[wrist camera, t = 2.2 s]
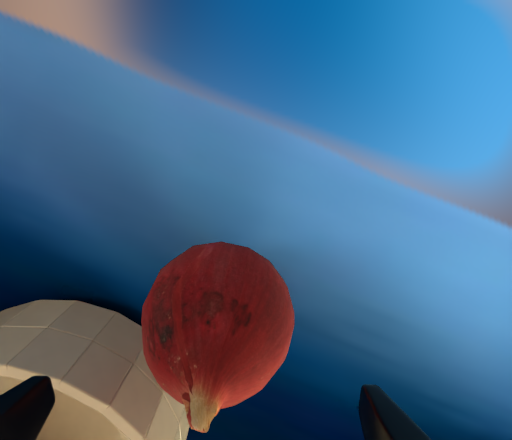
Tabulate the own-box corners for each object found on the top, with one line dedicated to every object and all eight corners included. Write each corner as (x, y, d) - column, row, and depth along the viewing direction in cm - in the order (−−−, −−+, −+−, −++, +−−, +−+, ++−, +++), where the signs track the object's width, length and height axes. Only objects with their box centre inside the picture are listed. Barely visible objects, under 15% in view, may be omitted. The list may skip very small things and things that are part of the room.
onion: (152, 261, 15) (35, 396, 7) (239, 196, 14) (208, 277, 6) (222, 337, 16) (184, 520, 9) (308, 284, 15) (351, 440, 8)
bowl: (186, 295, 16) (151, 368, 11) (199, 468, 19) (178, 578, 15) (-53, 291, 16) (-188, 359, 11) (7, 461, 20) (-74, 566, 15)
